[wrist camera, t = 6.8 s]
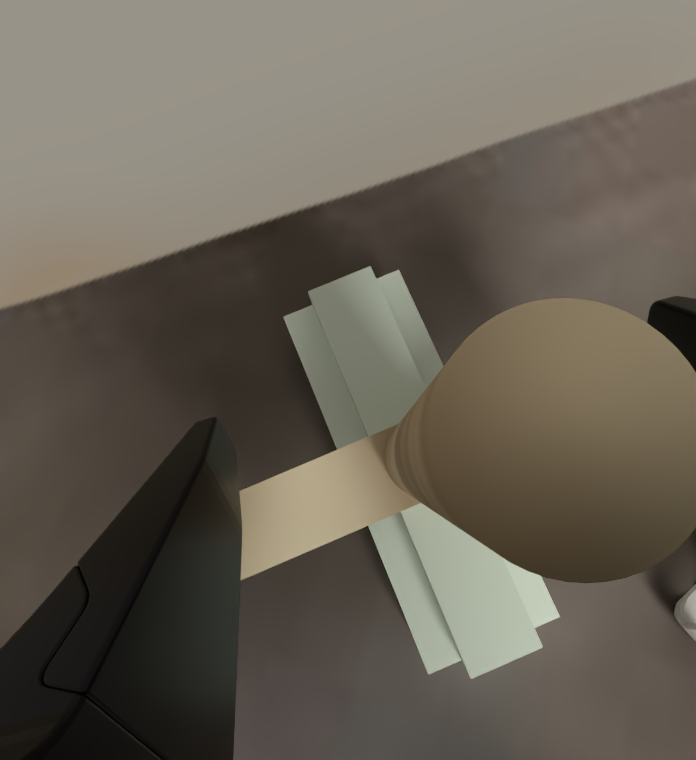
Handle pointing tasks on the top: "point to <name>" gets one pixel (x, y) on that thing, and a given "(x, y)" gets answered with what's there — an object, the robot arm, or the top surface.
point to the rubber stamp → (517, 452)
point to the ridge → (419, 523)
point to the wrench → (687, 612)
